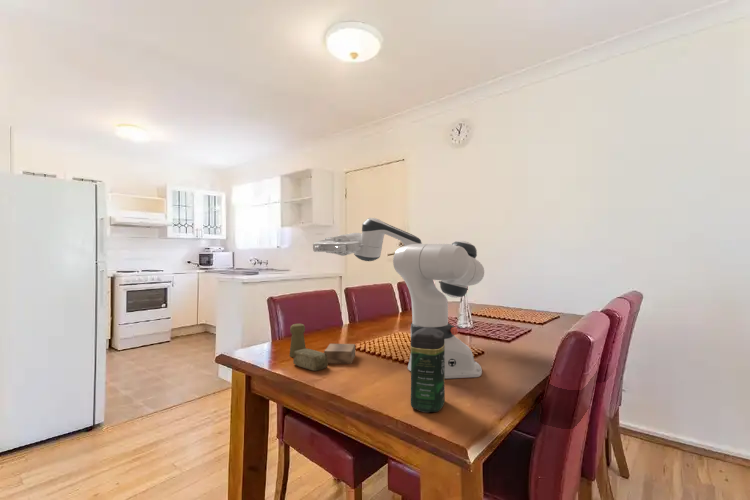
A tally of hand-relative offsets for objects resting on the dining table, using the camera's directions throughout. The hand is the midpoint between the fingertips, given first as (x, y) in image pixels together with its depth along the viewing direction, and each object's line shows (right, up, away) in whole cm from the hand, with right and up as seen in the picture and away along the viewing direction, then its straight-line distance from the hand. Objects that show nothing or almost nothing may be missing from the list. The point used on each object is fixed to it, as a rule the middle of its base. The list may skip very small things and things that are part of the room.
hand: (326, 249), depth 145 cm
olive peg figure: (-8, -38, -13) cm, 41 cm away
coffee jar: (+32, -38, -55) cm, 74 cm away
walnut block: (+7, -38, -18) cm, 42 cm away
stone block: (-2, -38, -25) cm, 46 cm away
